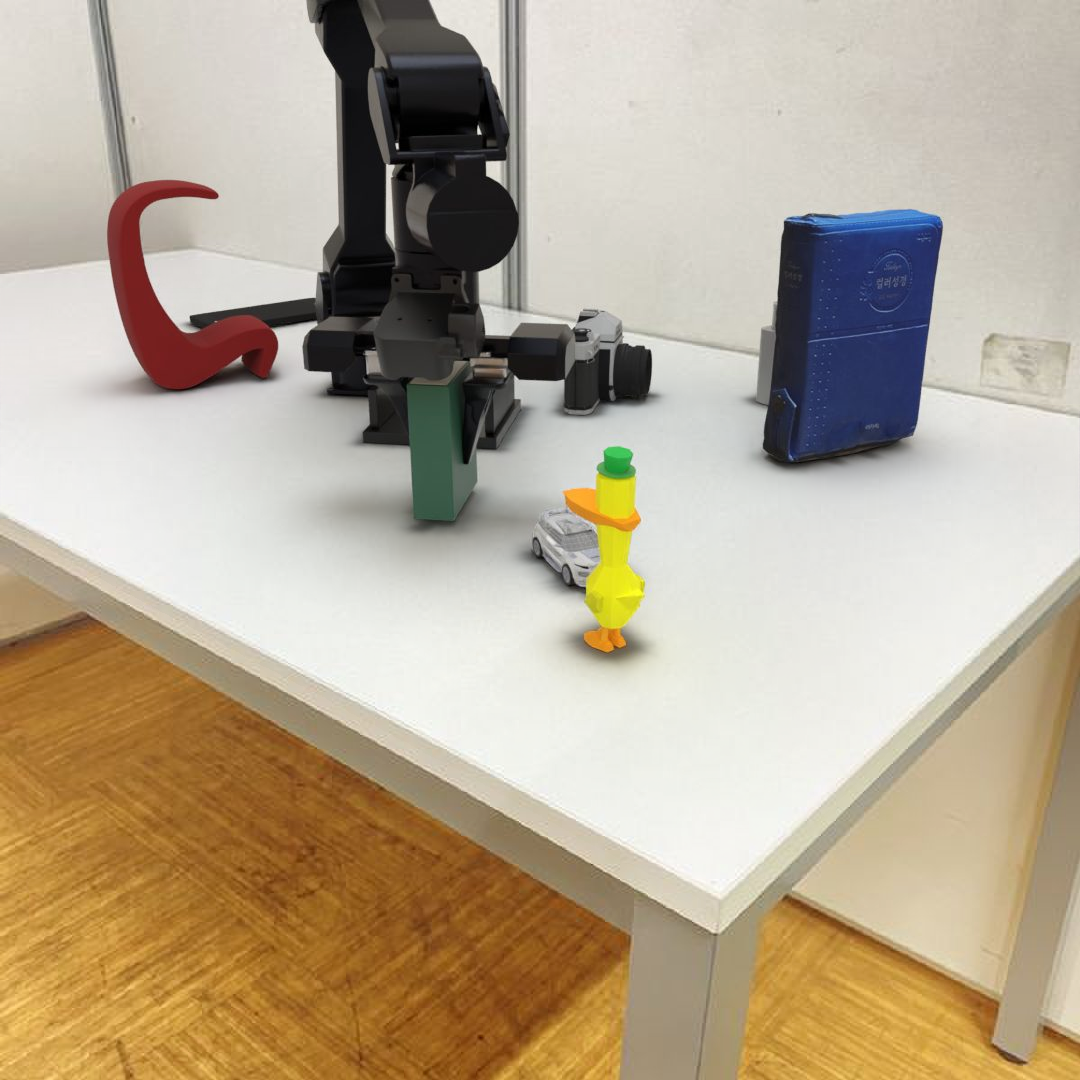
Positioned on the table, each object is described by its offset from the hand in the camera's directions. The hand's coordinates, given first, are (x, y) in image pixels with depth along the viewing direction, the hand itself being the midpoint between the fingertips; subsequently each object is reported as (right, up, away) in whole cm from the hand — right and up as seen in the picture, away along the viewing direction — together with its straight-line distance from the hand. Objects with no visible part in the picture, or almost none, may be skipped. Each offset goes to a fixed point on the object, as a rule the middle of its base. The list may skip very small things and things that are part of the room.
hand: (445, 461), depth 84 cm
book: (+32, +2, +13) cm, 35 cm away
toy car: (+9, -8, -8) cm, 15 cm away
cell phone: (-28, +23, +61) cm, 71 cm away
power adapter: (+31, +8, +27) cm, 42 cm away
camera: (+14, +8, +28) cm, 33 cm away
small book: (0, -3, +1) cm, 3 cm away
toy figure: (+11, -12, -18) cm, 24 cm away
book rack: (-2, +5, +20) cm, 21 cm away
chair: (-28, +11, +36) cm, 47 cm away
